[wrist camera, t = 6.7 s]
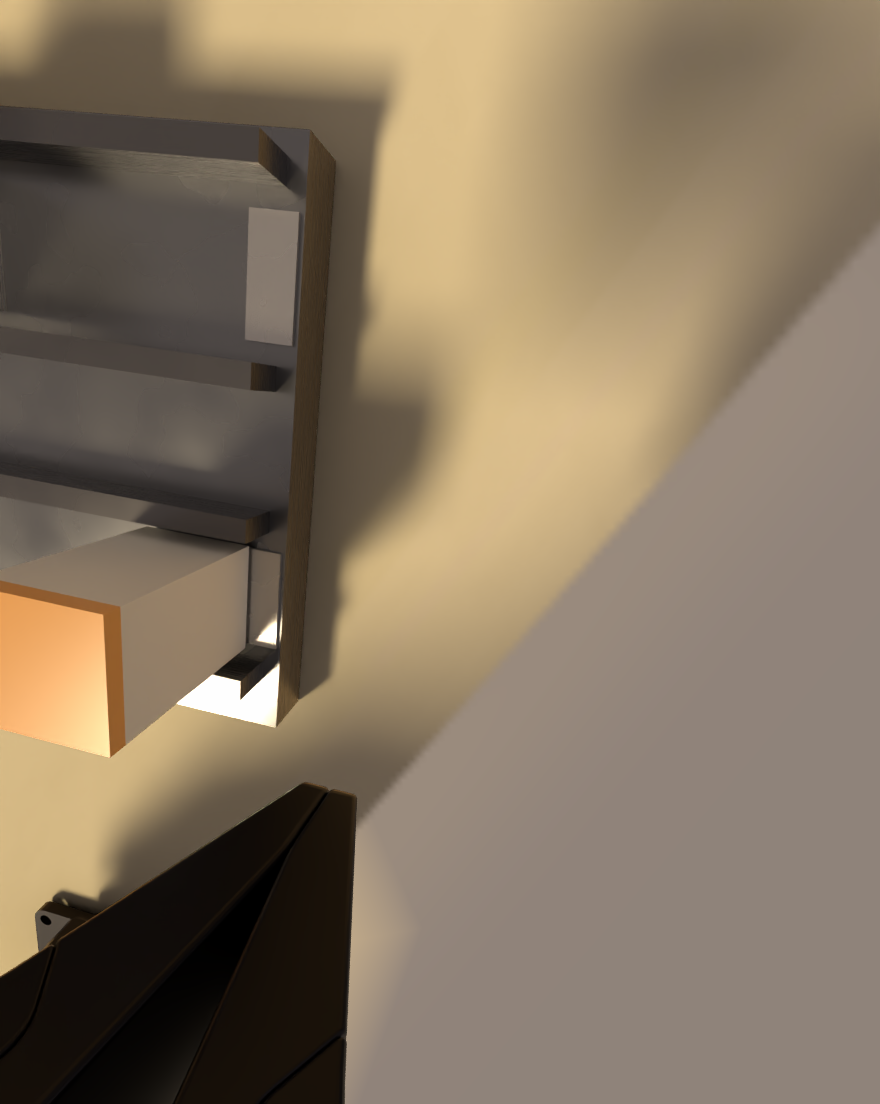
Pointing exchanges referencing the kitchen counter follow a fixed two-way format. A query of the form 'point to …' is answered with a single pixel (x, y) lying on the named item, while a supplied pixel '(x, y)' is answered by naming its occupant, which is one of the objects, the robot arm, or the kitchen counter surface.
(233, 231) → the breaker panel
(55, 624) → the block
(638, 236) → the kitchen counter surface
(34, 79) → the kitchen counter surface
